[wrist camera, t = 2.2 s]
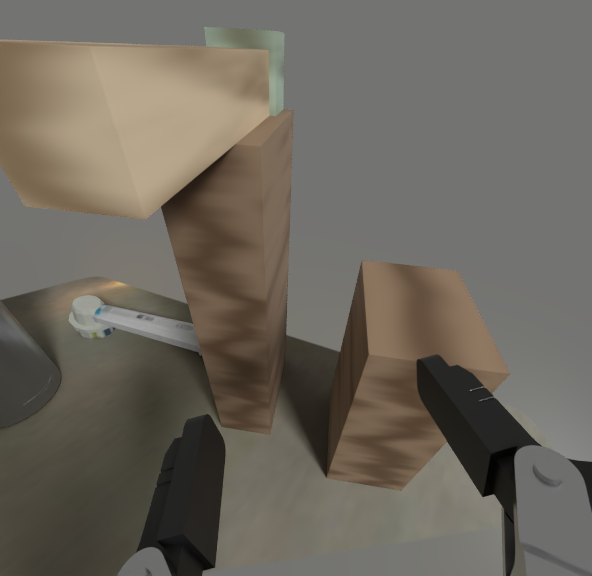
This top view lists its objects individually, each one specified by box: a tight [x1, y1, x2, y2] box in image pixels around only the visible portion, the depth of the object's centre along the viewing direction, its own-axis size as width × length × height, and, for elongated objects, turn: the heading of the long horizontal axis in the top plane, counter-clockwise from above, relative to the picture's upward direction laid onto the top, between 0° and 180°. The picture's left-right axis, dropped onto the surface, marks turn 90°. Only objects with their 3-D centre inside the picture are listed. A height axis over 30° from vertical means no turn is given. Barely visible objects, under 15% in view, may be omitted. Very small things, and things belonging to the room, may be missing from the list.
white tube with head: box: [69, 295, 202, 356], centre depth 43 cm, size 5×7×25 cm
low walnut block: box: [327, 260, 510, 491], centre depth 27 cm, size 8×10×22 cm
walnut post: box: [161, 109, 293, 434], centre depth 28 cm, size 6×11×32 cm, turn 172°
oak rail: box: [0, 27, 284, 219], centre depth 14 cm, size 4×19×4 cm, turn 172°
